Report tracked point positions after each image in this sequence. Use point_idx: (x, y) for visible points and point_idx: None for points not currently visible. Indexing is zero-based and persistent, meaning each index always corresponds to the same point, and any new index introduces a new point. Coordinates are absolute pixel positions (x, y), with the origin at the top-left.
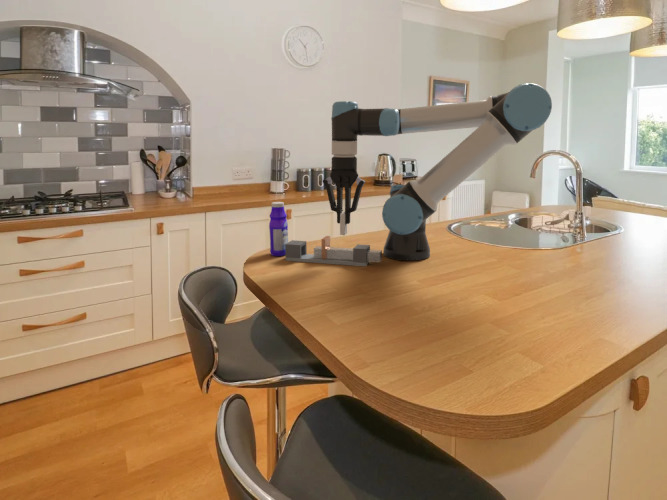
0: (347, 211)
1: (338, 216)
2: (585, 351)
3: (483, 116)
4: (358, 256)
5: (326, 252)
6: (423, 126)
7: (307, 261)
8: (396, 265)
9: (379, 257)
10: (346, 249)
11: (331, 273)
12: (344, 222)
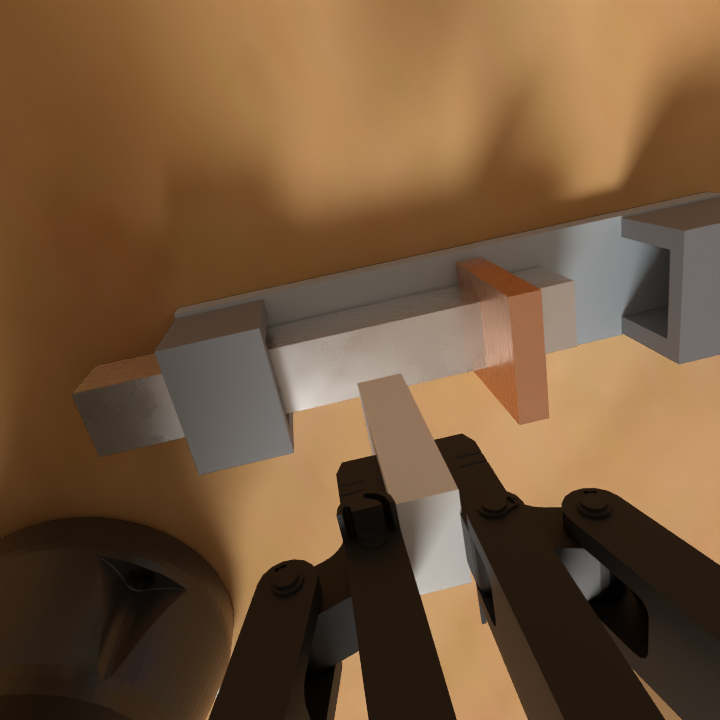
0: (361, 540)
1: (478, 481)
2: None
3: None
4: (221, 318)
5: (471, 296)
6: None
7: (564, 223)
8: (23, 419)
9: (87, 378)
10: (341, 362)
11: (297, 37)
12: (378, 442)
